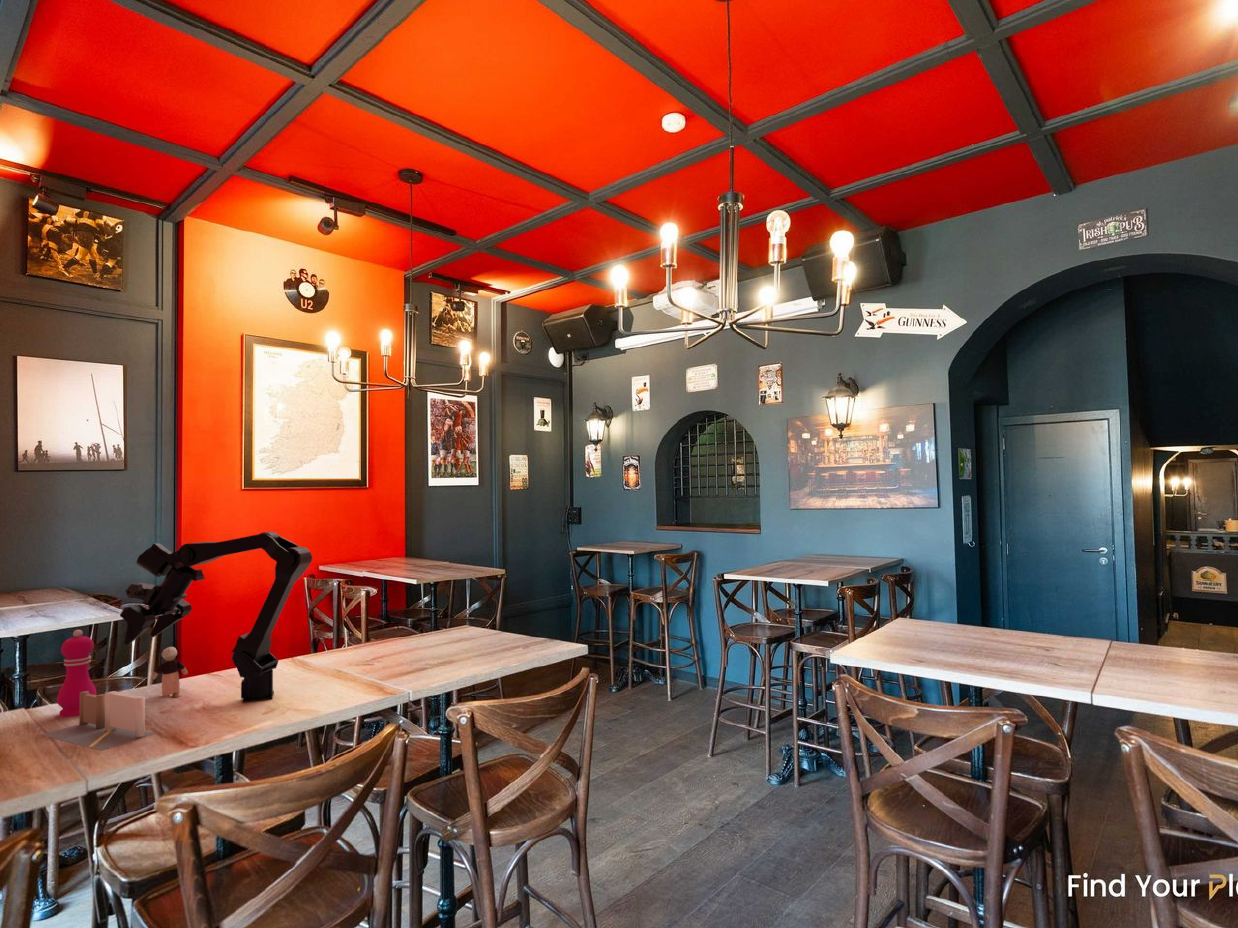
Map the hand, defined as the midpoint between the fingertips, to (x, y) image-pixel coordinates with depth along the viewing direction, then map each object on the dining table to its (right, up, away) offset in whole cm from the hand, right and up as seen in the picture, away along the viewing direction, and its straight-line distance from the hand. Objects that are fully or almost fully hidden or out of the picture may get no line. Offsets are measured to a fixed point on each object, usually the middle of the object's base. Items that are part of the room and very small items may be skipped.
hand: (139, 639), depth 168 cm
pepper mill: (-7, -15, -11) cm, 20 cm away
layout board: (+11, -14, -27) cm, 32 cm away
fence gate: (+16, -12, -27) cm, 34 cm away
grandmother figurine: (+6, -15, +2) cm, 17 cm away
